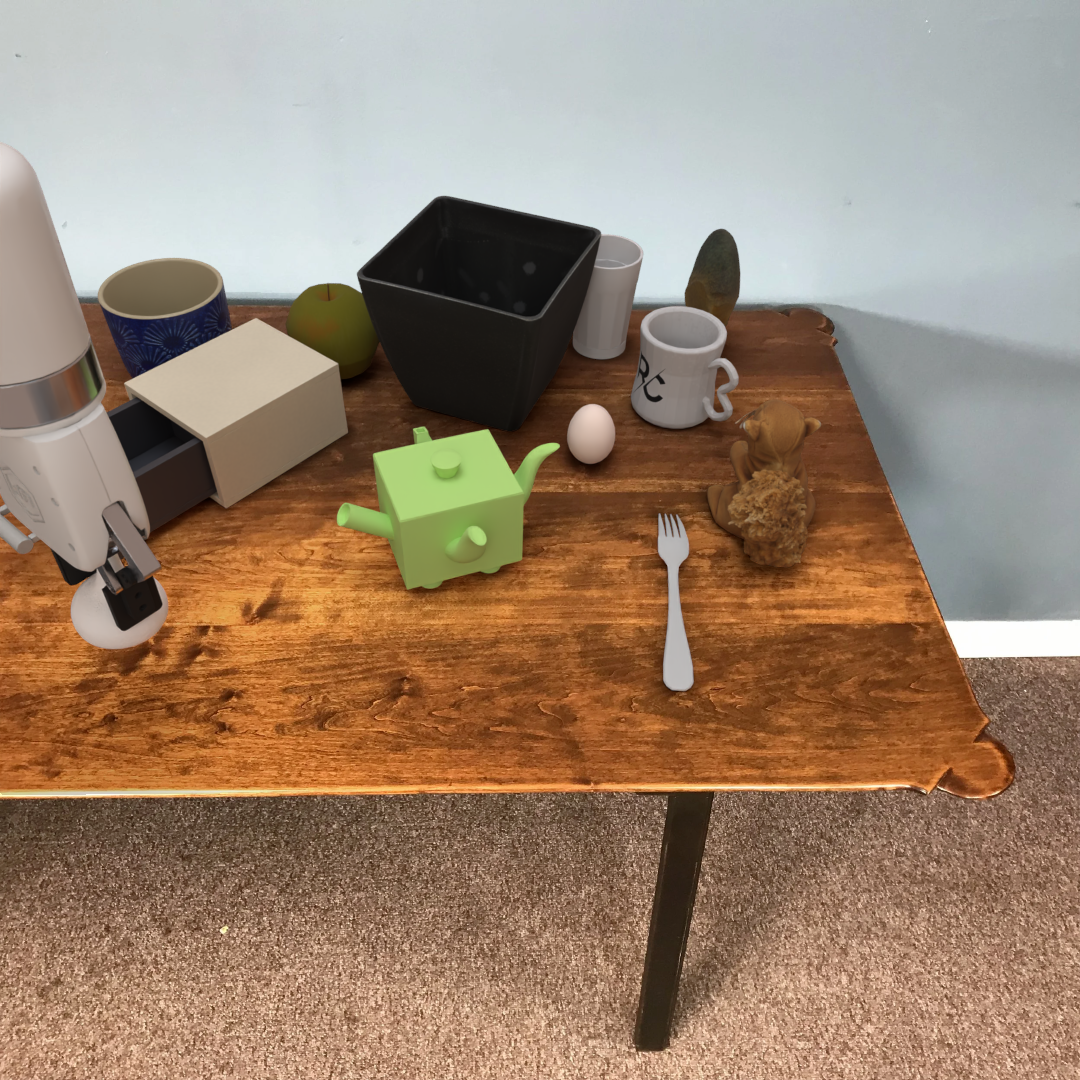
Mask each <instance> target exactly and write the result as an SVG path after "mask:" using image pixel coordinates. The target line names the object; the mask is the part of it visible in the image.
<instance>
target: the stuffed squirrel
mask: <svg viewBox="0 0 1080 1080" xmlns="http://www.w3.org/2000/svg"><path fill="white" fill-rule="evenodd" d="M752 416H753V417H752ZM751 417H752V419H750V418H751ZM739 423H740V425H739V427H738V428H739V429H742V428H743V430H744V431H745V432H746V433H747V441H746V440H737V441H735V442H734V443H733V444H732V445H731V448H730V450H729V460H730V463H731V466H732V467H733V471H734V474H735V475H734V476H735V477H736V478H737V481H734V482H730V483H728V484H725V485H722V484H714V485H710V486H709V487H708V488H707V491H706V492H707V493H706V494H707V495H706V496H707V502H708V505H709V508H710V512H711V515H712V517H713V520H714V521H715V523H716V524H717V525H718V526H719V527H720V528H722V529H724V530H725V531H726V532H728V533H730V534H731V535H733V536H735V537H737V538H740V539H742V540H743V541H742V543H743V553H744V554H746V555H749V560H750V561H752V562H753V563H756V564H757V565H760V566H763V565H764V566H765V565H767V566H769V567H774V568H780V567H781V568H790V567H792V566H793V567H794V565H795V564H801V559H802V554H803V553H804V552H805V549H806V548H807V540H808V538H809V536H808V534H809V531H808V526H809V525H810V523H811V522H812V519H813V517H814V514H815V511H816V505H817V504H816V500H815V497H814V495H813V493H812V491H811V490H810V488H809V477H808V472H807V470H806V467H805V463H804V460H803V458H802V453H803V451H804V447H805V439H806V438H808V437H809V436H812V435H813V434H814V433H816V432H817V431H818V430H819V429H820V428H821V426H822V423H821V421H820V420H819V419H817V418H815V417H805V415H804V414H803V412H802V411H801V410H800V409H799V408H798V407H795V406H794V405H792V404H791V403H788V402H786V401H784V400H781V399H768V400H766V401H764V402H763V403H760V405H759V406H758V407H757V408H755V409H753V410H751V411H749V412H748V413H746V414H744V415H742V417H740V418H739V419H738V420H737V421H735V422H734V425H737V424H739Z"/></svg>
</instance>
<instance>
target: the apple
mask: <svg viewBox="0 0 1080 1080" xmlns="http://www.w3.org/2000/svg"><path fill="white" fill-rule="evenodd" d="M284 325H285V330H286V333H287V334H286V335H288V336H289V337H291V338H293V339H295V340H297V341H298V342H300V343H302V344H304V345H306V346H307V347H309V348H311V349H313V350H315V351H316V352H318V353H320V354H322V355H324V356H325V357H327V358H329V359H331V360H333V361H334V362H336V363H338V365H339V373H340V380H347V379H352V378H354V377H357V376H359V375H361V374H363V373H364V372H365V371H366V370H367V369H369V368H370V367H371V364H372V363H373V360H374V357H375V354H376V352H377V350H378V347H379V346H380V342H379V339H378V337H377V335H376V332H375V329H374V327H373V324H372V322H371V319H370V316H369V313H368V310H367V307H366V304H365V301H364V298H363V295H362V291H359V290H357V289H356V288H354V287H352V286H350V285H348V284H344V283H339V282H335V283H334V282H327V283H318V284H314V285H311V286H309V287H307V288H305V290H303V291H302V292H301V293H300V294H299V295H298V296H297V297H296V298H295V299H294V300H293V302H292V304H291V306H290V307H289V311H288V314H287V317H286V321H285V324H284Z"/></svg>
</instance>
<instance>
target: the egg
mask: <svg viewBox="0 0 1080 1080" xmlns="http://www.w3.org/2000/svg"><path fill="white" fill-rule="evenodd" d="M614 423H615V422H614V420H613V418H612V415H611V414H610V413H609V411H608V410H607V409H606V408H605V407H604V406H602V405H599V404H596V403H588V404H586V405H583V406H582V407H580V408H579V409H578V410H577V411H576V412H575V413H574V415H573V416H572V418H571V420H570V422H569V424H568V427H567V433H566V434H567V435H566V441H567V445H568V449H569V451H570V452H571V454H572V456H573V457H574V458H575V459H576V460H578V461H579V462H581V463H583V464H587V465H594V464H597V463H601V462H602V461H604V459H606V458H608V456H609V454H610V453H611V452H612V450H613V448H614V445H615V441H616V425H615V424H614Z"/></svg>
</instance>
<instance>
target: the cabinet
mask: <svg viewBox="0 0 1080 1080" xmlns="http://www.w3.org/2000/svg"><path fill="white" fill-rule="evenodd" d="M123 385H124V387H125V391H126V394H127V397H128V399H129V401H130V400H132V399H134V398H136V397H138V398H139V399H141V400H142V401H144V402H145V403H147V404H148V405H150V406H151V407H153V408H154V409H156V410H157V411H159V412H160V413H162V414H163V415H165V416H166V417H168V418H169V419H171V420H172V421H173V422H175V423H176V424H178V425H179V426H181V427H182V428H184V429H185V430H187V431H188V432H190V433H191V434H193V435H194V436H196V437H197V438H199V439H200V440H202V441H203V444H204V447H205V450H206V454H207V457H208V461H209V464H210V468H211V471H212V475H213V478H214V482H215V485H216V489H217V492H216V493H215V494H213V495H211V496H210V497H209V498H210V499H212V500H213V501H215V502H216V503H217V504H219V505H220V506H222V507H223V508H225V509H228V508H230V507H231V506H233V505H234V504H236V503H238V502H240V501H241V500H242V499H244V498H246V497H248V496H249V495H250V494H252V493H254V492H255V491H257V490H259V489H260V488H262V487H263V486H265V485H267V484H268V483H270V482H271V481H273V480H274V479H276V478H278V477H279V476H281V475H282V474H284V473H286V472H287V471H289V470H290V469H292V468H294V467H296V466H297V465H299V464H301V463H302V462H304V461H305V460H307V459H308V458H310V457H311V456H313V455H315V454H316V453H318V452H320V451H321V450H323V449H324V448H326V447H328V446H329V445H331V444H333V443H334V442H335V441H337V440H339V439H340V438H342V437H344V436H346V435H347V434H348V433H349V429H348V422H347V416H346V414H347V413H346V407H345V402H344V395H343V394H344V393H343V387H342V379H340V373H339V365H338V363H336V362H334V361H333V360H331V359H329V358H327V357H325V356H324V355H322V354H320V353H318V352H316V351H315V350H313V349H311V348H309V347H307V346H306V345H304V344H302V343H300V342H298V341H297V340H295V339H293V338H291V337H289V336H288V334H286V333H284V332H282V331H280V330H279V329H277V328H275V327H274V326H271V325H269V324H268V323H266V322H264V321H262V320H260V319H259V318H256V317H255V318H253V319H250V320H249V321H247V322H245V323H243V324H240V325H239V326H237V327H234V328H233V329H232V330H231V331H229V332H227V333H225V334H223V335H220V336H218V337H216V338H214V339H212V340H210V341H208V342H206V343H204V344H202V345H200V346H198V347H196V348H194V349H192V350H190V351H188V352H186V353H184V354H182V355H180V356H178V357H176V358H174V359H172V360H170V361H168V362H166V363H164V364H162V365H160V366H157V367H155V368H153V369H151V370H149V371H147V372H145V373H143V374H141V375H139V376H137V377H135V378H131V379H129V380H127V381H125V382H123Z"/></svg>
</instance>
